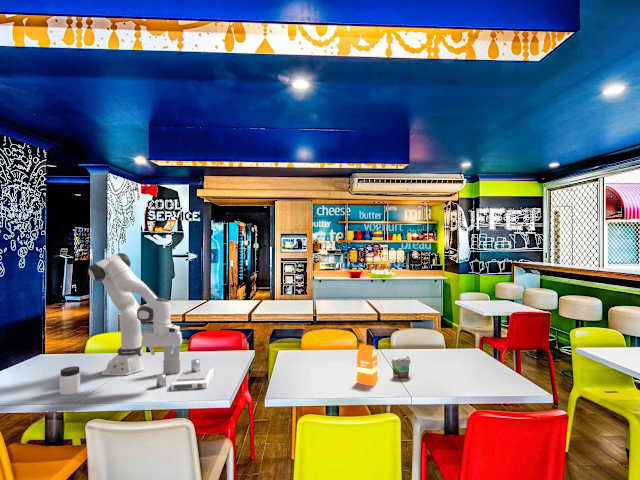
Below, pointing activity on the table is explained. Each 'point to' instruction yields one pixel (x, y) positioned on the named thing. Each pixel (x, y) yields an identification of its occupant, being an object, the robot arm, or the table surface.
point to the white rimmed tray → (193, 379)
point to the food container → (401, 367)
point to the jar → (69, 380)
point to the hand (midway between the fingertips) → (162, 354)
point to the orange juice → (366, 365)
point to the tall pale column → (171, 360)
